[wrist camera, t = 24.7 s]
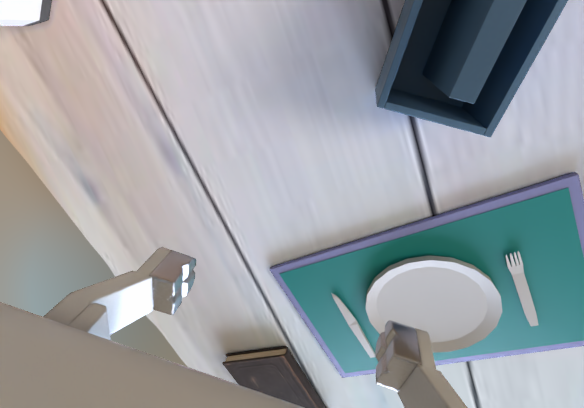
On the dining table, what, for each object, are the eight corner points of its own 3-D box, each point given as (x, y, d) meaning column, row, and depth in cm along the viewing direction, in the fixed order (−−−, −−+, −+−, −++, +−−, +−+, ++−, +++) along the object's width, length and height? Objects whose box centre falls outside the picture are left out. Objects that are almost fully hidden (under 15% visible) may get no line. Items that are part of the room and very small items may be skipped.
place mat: (574, 172, 39) (585, 179, 37) (609, 338, 49) (619, 350, 47) (270, 267, 57) (267, 275, 55) (342, 374, 67) (341, 384, 65)
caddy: (463, 113, 38) (511, 156, 25) (374, 89, 39) (377, 119, 26) (533, -27, 31) (648, -65, 18) (422, -52, 32) (459, -106, 19)
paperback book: (271, 414, 80) (269, 424, 78) (226, 354, 72) (222, 363, 70) (330, 411, 74) (329, 422, 72) (288, 345, 66) (285, 355, 64)
